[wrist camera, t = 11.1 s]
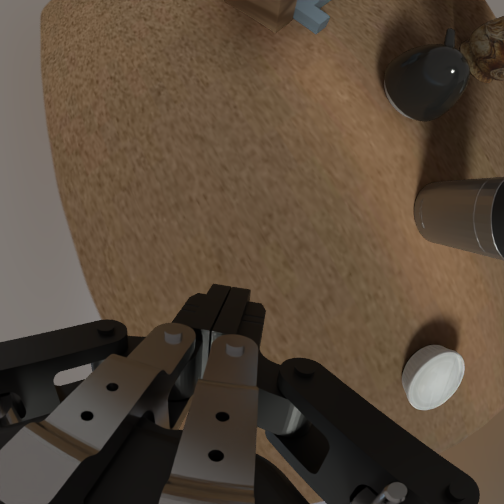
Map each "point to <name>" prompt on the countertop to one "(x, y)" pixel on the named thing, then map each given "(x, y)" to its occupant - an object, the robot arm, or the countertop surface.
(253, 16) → the t block
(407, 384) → the ramekin
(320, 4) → the t socket
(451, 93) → the roly-poly penguin toy
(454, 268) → the countertop surface
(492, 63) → the vase
